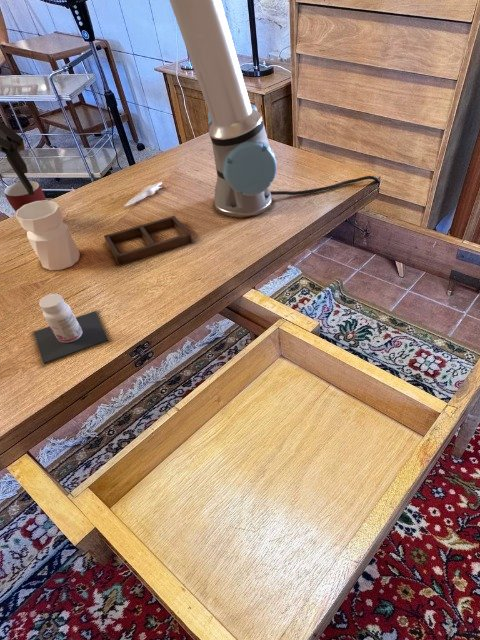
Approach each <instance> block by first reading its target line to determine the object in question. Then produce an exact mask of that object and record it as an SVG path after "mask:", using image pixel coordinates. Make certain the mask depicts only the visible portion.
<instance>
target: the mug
mask: <svg viewBox="0 0 480 640" xmlns="http://www.w3.org/2000/svg"><path fill="white" fill-rule="evenodd" d="M29 182H30V184H31V185H32V187H33V191H34V194H33V195H29V193H28V192H27V190H26V189H25V187H24V185H23V184H22V182H21V181H19V182H15V183H11V184H10V185H8V186H7V187H5V188H4V189H3V194H4V196H5V198H6V200H7V202H8V204H9V205H10V206H11V208H12V209H13V211H14V212H15V213H16V212H17V210H18V209H20V208H21V207H22V206H24V205H26V204H29V203H32V202H35V201H44V200H47V199H46V195H45V193H44V190H43V189H42V186H41V185H40V183H39V182H37V181H35V180H29Z"/></svg>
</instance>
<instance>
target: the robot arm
mask: <svg viewBox="0 0 480 640" xmlns="http://www.w3.org/2000/svg"><path fill="white" fill-rule="evenodd" d="M169 3H170V6H171V9H172V11H173V14H174V17H175V21H176V23H177V26H178V28H179V31H180V34H181V38H182V39H183V42H184V45H185V48H186V52H187V54H188V57H189V60H190V62H191V65H192V69H193V71H194V74H195V77H196V80H197V83H198V85H199V88H200V91H201V93H202V97H203V99H204V102H205V105H206V108H207V110H208V112H207V119H208V122H207V125H208V126H209V129H208V135H209V137H210V140H211V144H212V151H213V157H214V163H215V169H216V170H215V171H216V184H215V187H214V197H213V199H214V201H213V202H214V208H215V210H216V211H217V212H218V213H219V214H221V215H223V216H226V217H229V218H236V219H237V218H238V219H239V218H240V219H241V218H251V217H255V216H259V215H262V214H263V213H265V212H266V211H268V210H270V208H271V207H272V204H273V203H272V202H273V201H272V196H279V195H282V196H283V195H284V196H285V195H287V196H298V195H306V194H313V193H317V192H323V191H329V190H332V189H335V188H339V187H342V186H345V185H348V184H354V183H357V182H361V181H362V182H363V181H366V180H373V181H375V182H376V183H381V179H379V178H378V177H376V176H373V175H365V176H361V177H358V178H357V177H356V178H353V179H347V180H343V181H341V182H338V183H335V184H331V185H327V186H323V187H317V188H313V189H312V188H311V189H305V190H296V191H295V190H294V191H291V190H275V191H274V190H271V191H270V188H269V187H271V185H272V183H273V182H274V180H275V178H276V175H277V172H278V171H277V170H278V166H277V165H278V163H277V158H276V154H275V152H274V150H273V149H272V148H271V145H270V142H269V138H268V135H267V130H266V127H265V124H264V120H263V116H262V114H261V112H259V111H258V107H256V105H255V104H253V103H251V99H250V97H249V94H248V89H247V85H246V82H245V79H244V75H243V72H242V68H241V65H240V61H239V58H238V54H237V50H236V47H235V44H234V40H233V37H232V32H231V30H230V26H229V23H228V19H227V14H226V11H225V8H224V5H223V1H222V0H169ZM25 149H26V146H25V141H24V138H23V137H22V136H21V135H19V133H17V132H15V131H14V130H13V129H12V128H10V127H9V126H8V125H6V124H5V123H4V122H3V121H1V120H0V152H1V153H2V154H5V156H6V161H7V162H8V164H9V165H10V167H11V168H12V170H13V171H14V173H15V175H16V176H17V178H18V179H19V182H22V184H23V185H24V187H25V189H26V190H27V192H28V193H29V195H33V194H34V191H33V187H32V185H31V184H30V182H29V181H30V180H29V179H28V177H27V175H26V174H27V173H29V171H28V166H27V164H26V162H25V161H24V159H23V157H22V156H21V154H20V152H21V151H25Z"/></svg>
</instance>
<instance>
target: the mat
mask: <svg viewBox="0 0 480 640" xmlns="http://www.w3.org/2000/svg"><path fill="white" fill-rule="evenodd" d="M75 317H76V316H75ZM76 319H77V321H78V323H79V325H80V327H81V329H82V335H81V336H80V338H78V339H77V340H75V341H73V342H69V343H63V342H60V341H59V340H58V339H57V338H56V336H55V334H54V333H53V331H52V329H51V328H50V326H47V327H44V328H40V329H38V330H35V331H33V334H34V337H35V341H36V344H37V347H38V350H39V353H40V357H41V360H42V364H43V365H46V364H49V363H52V362H54V361H57V360H60V359H62V358H63V359H64V358H65V357H68V356H72V355H74V354H76V353H79V352H82V351H84V350H88V349H90V348H93V347H96V346H99V345H102V344H105V343H107V342H110V340H109V338H108V335H107V333H106V332H105V330H104V327H103V325H102V322H101V320H100V318H99V316H98V313H97V312H96V311H95V310H94V311H91V312H89V313H86V314H83V315H80V316H77V317H76Z"/></svg>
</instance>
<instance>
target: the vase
mask: <svg viewBox="0 0 480 640" xmlns="http://www.w3.org/2000/svg"><path fill="white" fill-rule="evenodd" d="M63 216H64V215H63V213H62V211H61V209H60V206H59V205H58V203H57V202H56V201H52V200H48V199H46V200H44V201H35V202H32V203H29V204H26V205H24V206H22V207H21V208H20V209H18V210H17V212H15V218H16V220H17V221H18V224H19V225H20V226H21V227H22V228H23V230H24V231H27V232H26V237H27V241H28V242H29V244H30V246H31V248H32V250H33V251H34V253H35V254H36V256H37V257H38V259H39V261H40V264H41V266H42V268H44V269H46V270H49V271H61V270H65V269H67V268H70V267H72V266H73V265H75V264H76V263H78V261H79V260H80V256H81V255H80V251H79V249H78V246H77V244H76V242H75V240H74V238H73V236H72V233H71V231H70V228H69V226H68V224H67V223H65V222H64V217H63Z"/></svg>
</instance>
